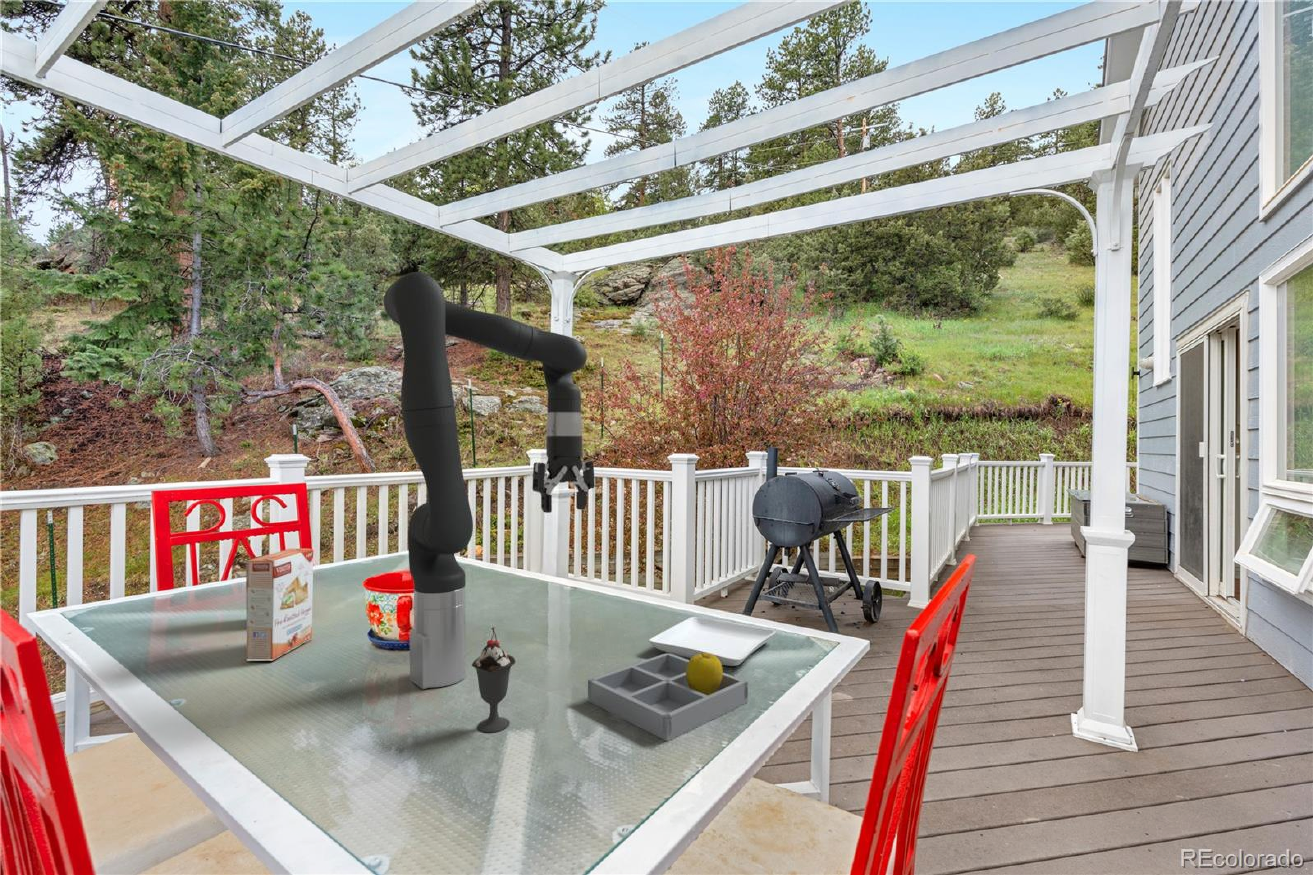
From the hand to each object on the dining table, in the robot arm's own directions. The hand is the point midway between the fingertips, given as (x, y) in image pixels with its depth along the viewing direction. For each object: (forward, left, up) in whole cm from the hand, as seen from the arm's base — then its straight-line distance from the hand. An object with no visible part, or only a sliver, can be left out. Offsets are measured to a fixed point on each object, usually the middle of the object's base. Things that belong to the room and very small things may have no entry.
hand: (564, 510), depth 129 cm
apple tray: (-1, -32, -30) cm, 44 cm away
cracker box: (-43, +43, -30) cm, 68 cm away
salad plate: (+25, -20, -31) cm, 44 cm away
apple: (+4, -36, -30) cm, 47 cm away
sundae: (-27, -19, -30) cm, 45 cm away
